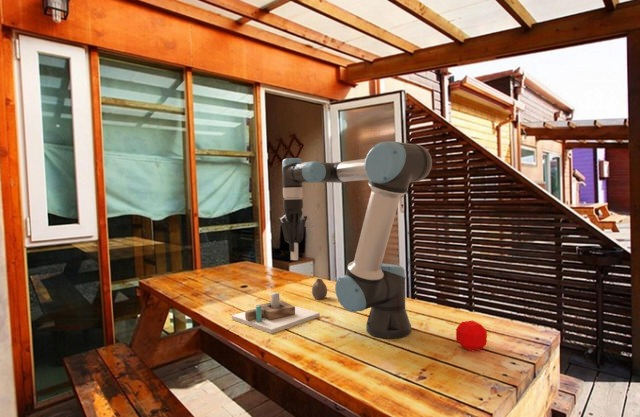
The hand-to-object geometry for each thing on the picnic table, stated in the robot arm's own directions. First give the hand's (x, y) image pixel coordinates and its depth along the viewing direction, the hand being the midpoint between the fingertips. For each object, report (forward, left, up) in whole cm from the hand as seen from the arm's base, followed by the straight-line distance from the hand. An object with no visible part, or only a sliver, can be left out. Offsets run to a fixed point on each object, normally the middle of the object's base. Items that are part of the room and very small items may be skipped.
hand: (294, 259), depth 152 cm
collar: (+6, +9, -21) cm, 23 cm away
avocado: (+11, -25, -23) cm, 35 cm away
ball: (-63, -14, -23) cm, 69 cm away
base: (+5, +6, -22) cm, 24 cm away
